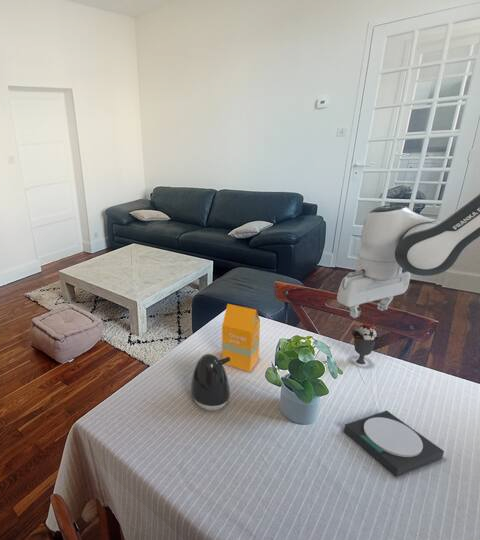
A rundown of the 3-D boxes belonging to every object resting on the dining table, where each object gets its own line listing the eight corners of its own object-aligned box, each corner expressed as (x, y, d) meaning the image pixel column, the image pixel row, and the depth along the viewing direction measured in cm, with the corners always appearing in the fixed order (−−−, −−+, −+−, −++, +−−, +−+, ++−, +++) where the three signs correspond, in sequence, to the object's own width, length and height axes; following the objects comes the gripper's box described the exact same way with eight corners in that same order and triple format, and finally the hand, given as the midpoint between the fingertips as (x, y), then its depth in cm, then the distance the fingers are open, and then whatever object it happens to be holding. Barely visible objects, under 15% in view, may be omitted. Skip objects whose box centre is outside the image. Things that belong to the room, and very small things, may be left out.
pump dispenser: (235, 415, 87) (236, 367, 81) (194, 418, 87) (192, 369, 82) (225, 388, 96) (225, 343, 91) (188, 391, 97) (186, 346, 92)
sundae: (373, 360, 100) (381, 316, 95) (374, 373, 95) (383, 327, 90) (347, 355, 104) (353, 312, 99) (347, 367, 99) (353, 323, 94)
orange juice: (250, 374, 101) (252, 315, 94) (221, 365, 106) (221, 308, 99) (258, 360, 106) (261, 304, 99) (231, 352, 112) (231, 298, 105)
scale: (384, 420, 81) (387, 408, 79) (441, 461, 70) (445, 448, 68) (343, 434, 78) (345, 422, 77) (395, 480, 67) (398, 466, 66)
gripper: (355, 278, 84) (347, 326, 89) (419, 263, 88) (408, 310, 93) (334, 270, 90) (328, 315, 94) (394, 256, 94) (386, 301, 99)
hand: (368, 313), depth 94 cm, fingers open, 8 cm apart
